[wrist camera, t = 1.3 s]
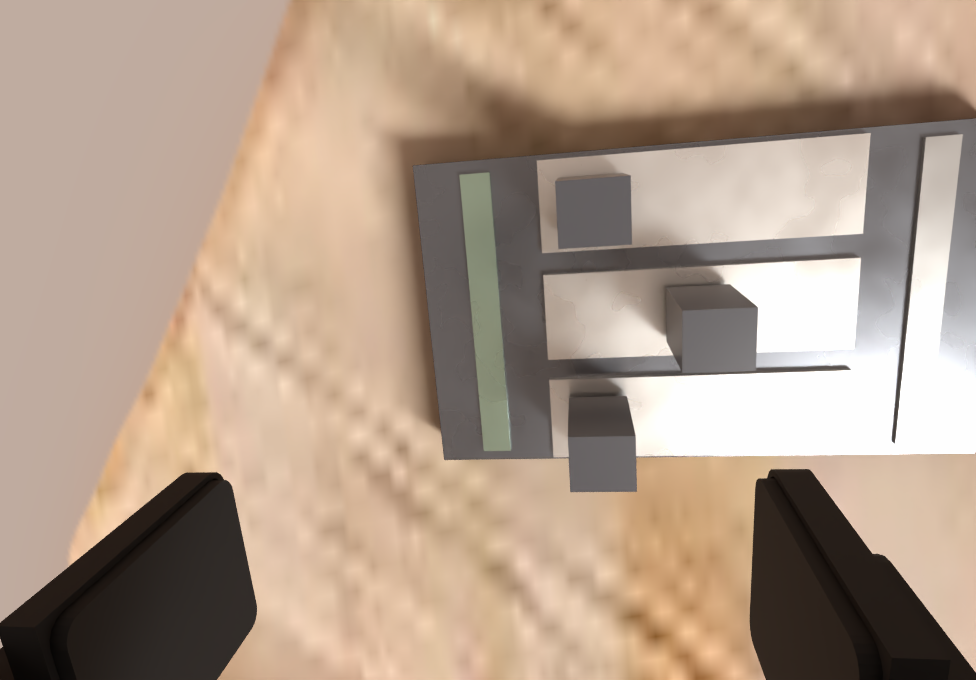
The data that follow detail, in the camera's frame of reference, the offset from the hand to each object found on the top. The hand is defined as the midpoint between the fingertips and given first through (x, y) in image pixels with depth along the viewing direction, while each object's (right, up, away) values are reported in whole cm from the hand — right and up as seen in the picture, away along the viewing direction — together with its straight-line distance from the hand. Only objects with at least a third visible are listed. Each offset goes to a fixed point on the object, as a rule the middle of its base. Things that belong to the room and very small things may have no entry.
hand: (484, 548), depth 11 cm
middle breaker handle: (+8, +5, +14) cm, 17 cm away
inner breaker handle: (+5, 0, +16) cm, 17 cm away
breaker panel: (+9, +5, +17) cm, 20 cm away
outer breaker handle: (+4, +9, +14) cm, 17 cm away
